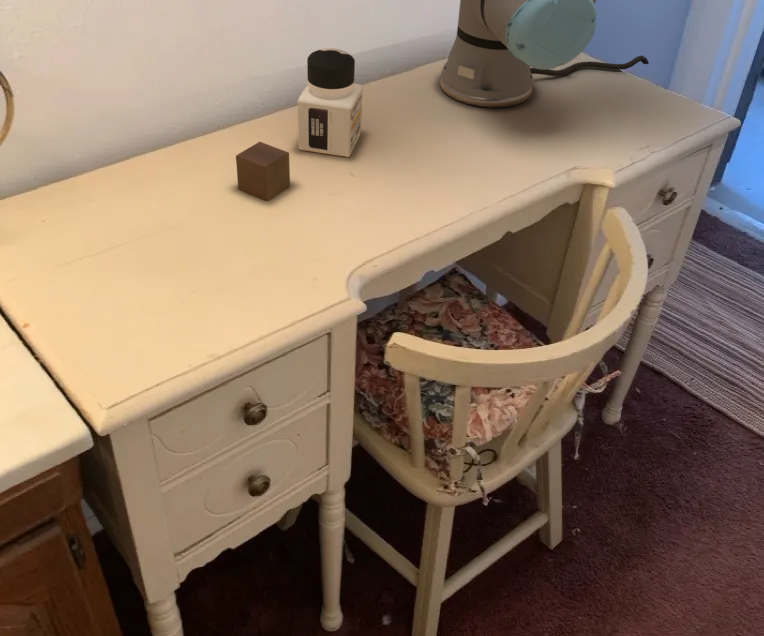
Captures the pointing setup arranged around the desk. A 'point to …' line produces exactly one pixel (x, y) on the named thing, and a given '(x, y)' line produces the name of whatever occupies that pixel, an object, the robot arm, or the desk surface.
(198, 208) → the desk surface
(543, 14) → the robot arm
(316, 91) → the container
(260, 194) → the walnut block
